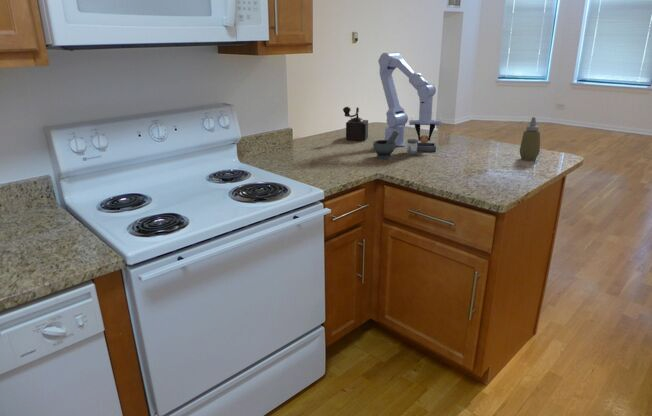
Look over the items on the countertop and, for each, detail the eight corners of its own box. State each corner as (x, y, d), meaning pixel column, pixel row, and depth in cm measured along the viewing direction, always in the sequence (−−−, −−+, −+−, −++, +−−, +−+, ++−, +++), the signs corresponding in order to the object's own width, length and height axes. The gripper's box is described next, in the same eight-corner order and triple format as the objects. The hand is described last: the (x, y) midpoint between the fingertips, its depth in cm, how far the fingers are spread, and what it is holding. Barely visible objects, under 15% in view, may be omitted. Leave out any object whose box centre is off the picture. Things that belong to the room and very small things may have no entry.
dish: (411, 151, 220) (411, 146, 219) (412, 147, 227) (412, 142, 226) (435, 151, 217) (435, 146, 217) (435, 147, 225) (435, 143, 224)
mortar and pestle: (371, 159, 207) (371, 132, 203) (374, 154, 216) (374, 128, 211) (397, 160, 205) (398, 133, 200) (398, 155, 213) (399, 129, 209)
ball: (419, 142, 223) (420, 133, 222) (428, 142, 223) (428, 134, 221) (419, 144, 220) (420, 135, 218) (428, 144, 219) (428, 135, 217)
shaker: (406, 155, 212) (407, 141, 209) (407, 153, 216) (407, 139, 213) (416, 156, 211) (417, 141, 208) (417, 153, 215) (418, 139, 212)
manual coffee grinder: (348, 136, 254) (348, 103, 248) (368, 137, 252) (368, 103, 246) (342, 142, 240) (341, 107, 234) (363, 143, 238) (363, 107, 231)
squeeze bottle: (540, 161, 197) (546, 119, 190) (520, 161, 198) (525, 118, 192) (536, 157, 204) (542, 115, 198) (516, 156, 206) (521, 115, 199)
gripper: (409, 112, 214) (408, 141, 219) (441, 112, 211) (440, 142, 216) (410, 110, 220) (408, 138, 225) (441, 110, 217) (439, 139, 222)
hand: (424, 140), depth 221 cm, fingers closed on ball, 4 cm apart
